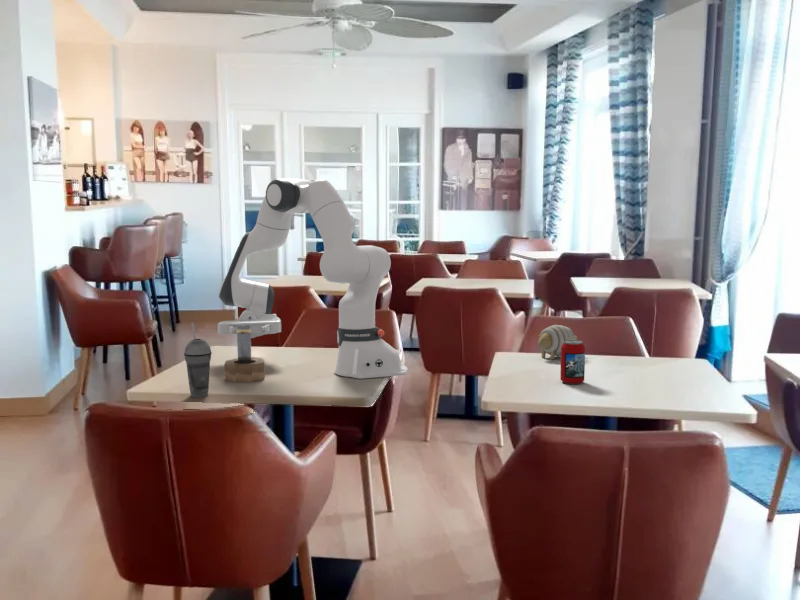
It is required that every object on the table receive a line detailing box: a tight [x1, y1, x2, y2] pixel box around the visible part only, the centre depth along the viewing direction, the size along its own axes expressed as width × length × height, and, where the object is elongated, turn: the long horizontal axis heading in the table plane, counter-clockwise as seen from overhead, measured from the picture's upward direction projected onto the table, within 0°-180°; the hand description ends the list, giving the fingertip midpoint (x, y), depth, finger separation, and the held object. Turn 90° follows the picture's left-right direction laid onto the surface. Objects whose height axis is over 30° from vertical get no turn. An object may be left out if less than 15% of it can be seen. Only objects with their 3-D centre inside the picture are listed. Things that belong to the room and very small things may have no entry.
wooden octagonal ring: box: [224, 357, 266, 383], centre depth 228 cm, size 12×12×5 cm
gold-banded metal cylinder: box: [236, 324, 252, 364], centre depth 227 cm, size 4×4×16 cm
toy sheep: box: [537, 324, 578, 361], centre depth 257 cm, size 11×17×11 cm, turn 127°
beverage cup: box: [183, 322, 213, 398], centre depth 206 cm, size 7×7×20 cm
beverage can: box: [560, 339, 586, 385], centre depth 219 cm, size 7×7×12 cm
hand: (248, 330), depth 240 cm, fingers open, 8 cm apart
